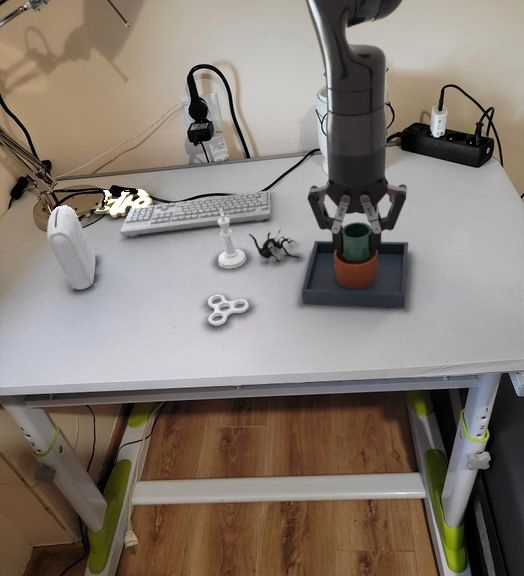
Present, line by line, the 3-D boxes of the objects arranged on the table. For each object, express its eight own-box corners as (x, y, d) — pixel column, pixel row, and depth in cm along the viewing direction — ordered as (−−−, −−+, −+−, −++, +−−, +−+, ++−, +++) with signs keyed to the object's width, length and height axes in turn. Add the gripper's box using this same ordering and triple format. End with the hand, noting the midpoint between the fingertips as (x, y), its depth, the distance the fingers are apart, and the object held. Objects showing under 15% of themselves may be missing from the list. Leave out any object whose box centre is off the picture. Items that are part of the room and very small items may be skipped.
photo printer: (75, 260, 96) (46, 201, 87) (97, 255, 96) (71, 196, 88) (71, 293, 89) (39, 233, 80) (95, 287, 89) (66, 227, 80)
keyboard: (270, 192, 103) (268, 183, 102) (271, 221, 96) (269, 212, 95) (131, 210, 106) (128, 201, 104) (123, 239, 99) (119, 230, 98)
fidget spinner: (208, 299, 82) (207, 295, 82) (247, 292, 82) (246, 288, 82) (209, 328, 77) (208, 324, 77) (250, 321, 77) (250, 317, 77)
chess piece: (221, 271, 87) (209, 221, 80) (216, 256, 91) (203, 206, 84) (249, 264, 88) (239, 213, 81) (242, 249, 91) (232, 199, 84)
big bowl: (378, 264, 82) (378, 240, 79) (375, 290, 78) (375, 266, 75) (337, 263, 84) (336, 240, 80) (332, 288, 79) (331, 265, 76)
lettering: (161, 191, 110) (159, 187, 110) (145, 216, 104) (144, 212, 103) (59, 195, 116) (57, 191, 115) (38, 219, 109) (36, 216, 108)
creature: (278, 242, 93) (244, 254, 89) (280, 214, 90) (245, 225, 85) (308, 259, 88) (273, 272, 84) (311, 230, 85) (275, 242, 81)
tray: (407, 254, 83) (408, 241, 82) (404, 308, 75) (405, 295, 73) (315, 252, 87) (314, 240, 86) (302, 303, 79) (301, 291, 77)
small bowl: (372, 244, 78) (373, 222, 76) (370, 262, 76) (370, 239, 73) (344, 244, 80) (343, 222, 77) (340, 261, 77) (339, 239, 74)
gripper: (296, 155, 64) (306, 264, 77) (413, 152, 61) (404, 266, 73) (306, 130, 69) (314, 236, 82) (414, 125, 66) (406, 236, 78)
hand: (357, 250), depth 77 cm, fingers closed on small bowl, 4 cm apart
